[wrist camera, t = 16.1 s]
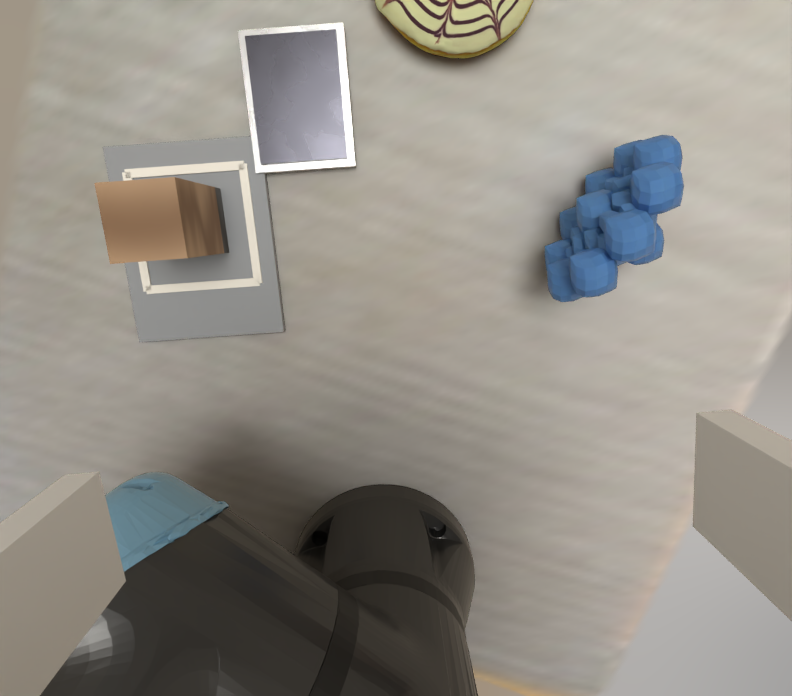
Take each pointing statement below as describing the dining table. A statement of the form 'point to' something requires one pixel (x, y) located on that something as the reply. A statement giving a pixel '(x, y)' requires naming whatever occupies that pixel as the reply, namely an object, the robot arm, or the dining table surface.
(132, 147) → the board
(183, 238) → the brown wooden block
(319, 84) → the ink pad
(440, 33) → the decorated donut
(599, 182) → the grapes
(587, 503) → the dining table surface
